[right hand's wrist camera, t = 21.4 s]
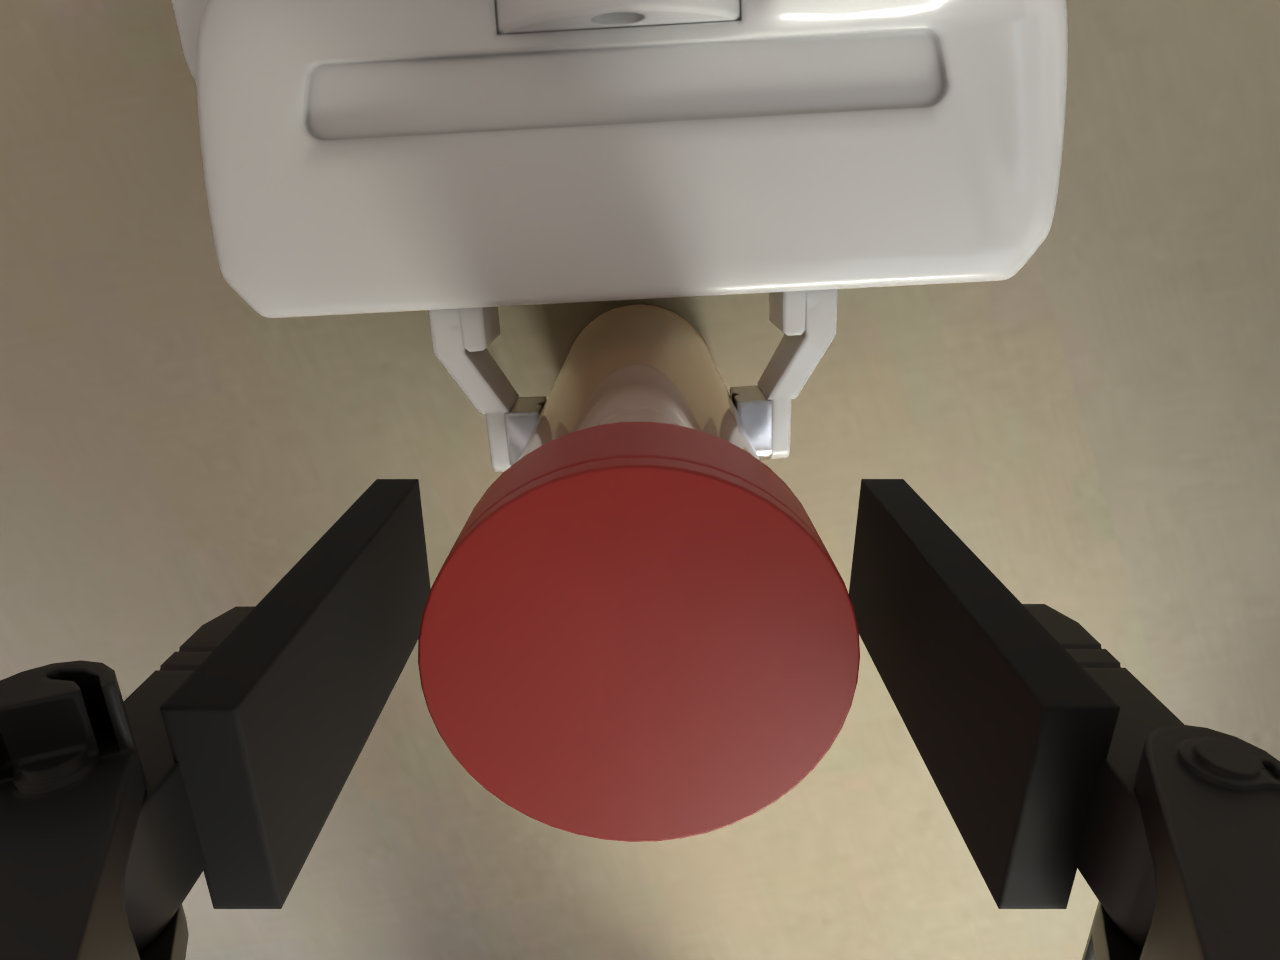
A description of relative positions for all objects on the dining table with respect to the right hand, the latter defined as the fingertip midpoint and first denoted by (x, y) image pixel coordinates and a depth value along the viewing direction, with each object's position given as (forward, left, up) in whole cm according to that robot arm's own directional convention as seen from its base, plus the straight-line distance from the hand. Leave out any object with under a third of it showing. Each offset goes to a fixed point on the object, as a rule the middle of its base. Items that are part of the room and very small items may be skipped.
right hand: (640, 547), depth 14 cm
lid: (0, 0, +4) cm, 4 cm away
